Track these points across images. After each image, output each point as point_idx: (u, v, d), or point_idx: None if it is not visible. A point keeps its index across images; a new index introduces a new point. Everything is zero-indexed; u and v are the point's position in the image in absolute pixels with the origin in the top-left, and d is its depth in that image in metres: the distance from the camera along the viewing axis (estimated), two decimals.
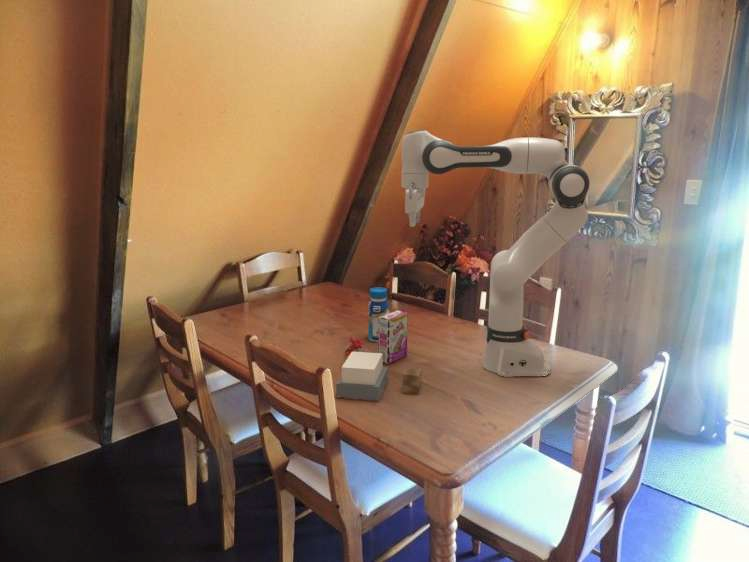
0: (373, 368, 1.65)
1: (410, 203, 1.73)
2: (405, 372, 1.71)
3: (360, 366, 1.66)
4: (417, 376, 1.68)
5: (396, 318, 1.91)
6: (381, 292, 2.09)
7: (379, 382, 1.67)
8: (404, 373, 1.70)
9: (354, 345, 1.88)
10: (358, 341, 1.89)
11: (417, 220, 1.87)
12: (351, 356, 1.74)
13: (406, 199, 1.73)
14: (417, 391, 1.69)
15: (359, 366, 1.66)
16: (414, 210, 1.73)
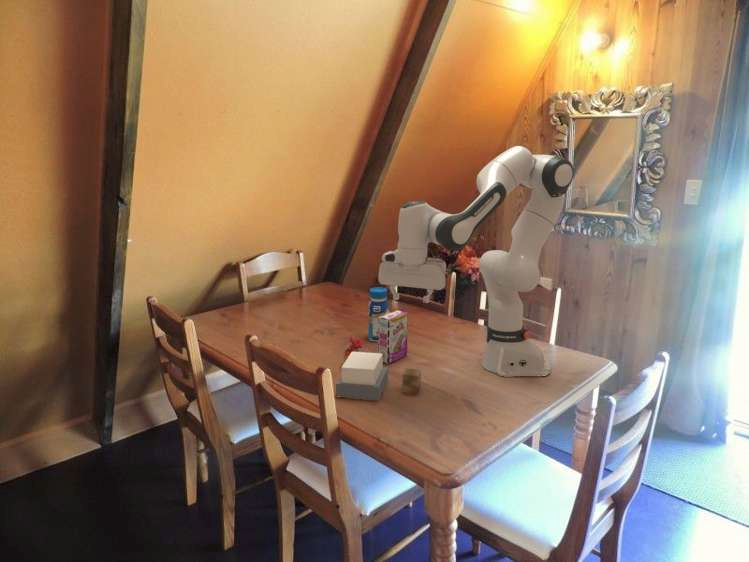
0: (373, 368, 1.65)
1: (444, 278, 1.64)
2: (405, 372, 1.71)
3: (360, 366, 1.66)
4: (417, 376, 1.68)
5: (396, 318, 1.91)
6: (381, 292, 2.09)
7: (379, 382, 1.67)
8: (404, 373, 1.70)
9: (354, 345, 1.88)
10: (358, 341, 1.89)
11: (398, 296, 1.70)
12: (351, 356, 1.74)
13: (442, 275, 1.62)
14: (417, 391, 1.69)
15: (359, 367, 1.66)
16: (444, 284, 1.65)
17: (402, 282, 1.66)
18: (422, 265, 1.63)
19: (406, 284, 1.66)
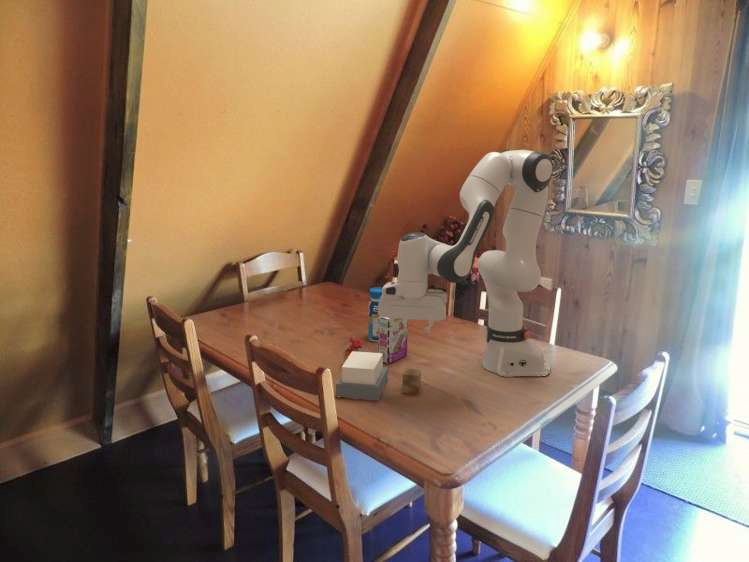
0: (373, 368, 1.65)
1: (445, 309, 1.64)
2: (405, 372, 1.71)
3: (361, 366, 1.66)
4: (417, 376, 1.68)
5: (396, 318, 1.91)
6: (381, 292, 2.09)
7: (379, 382, 1.67)
8: (404, 373, 1.70)
9: (354, 345, 1.88)
10: (358, 341, 1.89)
11: (398, 328, 1.69)
12: (351, 356, 1.74)
13: (444, 306, 1.62)
14: (417, 391, 1.69)
15: (360, 366, 1.66)
16: None
17: (403, 314, 1.65)
18: (423, 297, 1.62)
19: (407, 316, 1.65)
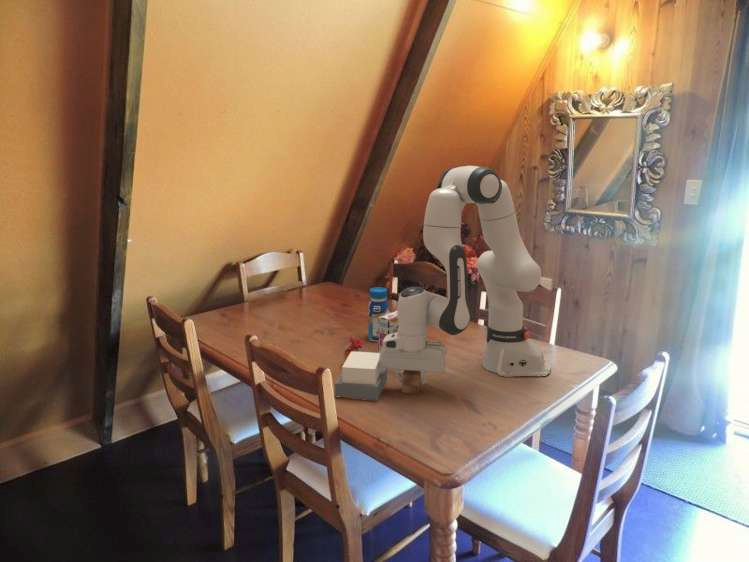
0: (374, 368, 1.65)
1: (444, 360, 1.68)
2: (405, 371, 1.71)
3: (361, 366, 1.66)
4: (417, 376, 1.68)
5: (396, 318, 1.91)
6: (381, 292, 2.09)
7: (378, 382, 1.67)
8: (404, 373, 1.70)
9: (354, 345, 1.88)
10: (358, 341, 1.89)
11: None
12: (351, 356, 1.74)
13: (443, 358, 1.66)
14: (417, 391, 1.69)
15: (360, 366, 1.66)
16: None
17: (403, 366, 1.69)
18: (423, 350, 1.66)
19: (407, 368, 1.69)
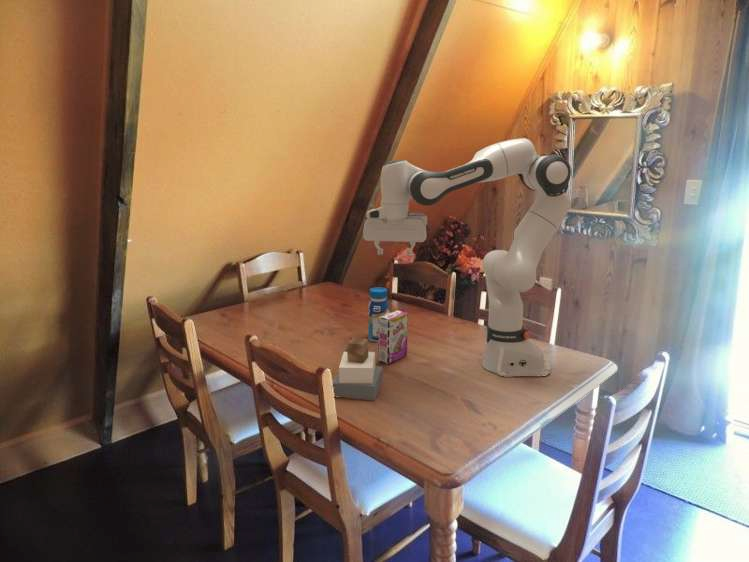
0: (371, 367, 1.66)
1: (425, 231, 1.76)
2: (351, 340, 1.70)
3: (358, 365, 1.67)
4: (361, 345, 1.67)
5: (396, 318, 1.91)
6: (381, 292, 2.09)
7: (374, 381, 1.67)
8: (349, 342, 1.69)
9: None
10: None
11: (382, 252, 1.80)
12: (345, 356, 1.74)
13: (424, 228, 1.74)
14: (361, 360, 1.68)
15: (357, 366, 1.66)
16: None
17: (386, 237, 1.77)
18: (405, 219, 1.74)
19: (390, 239, 1.77)
